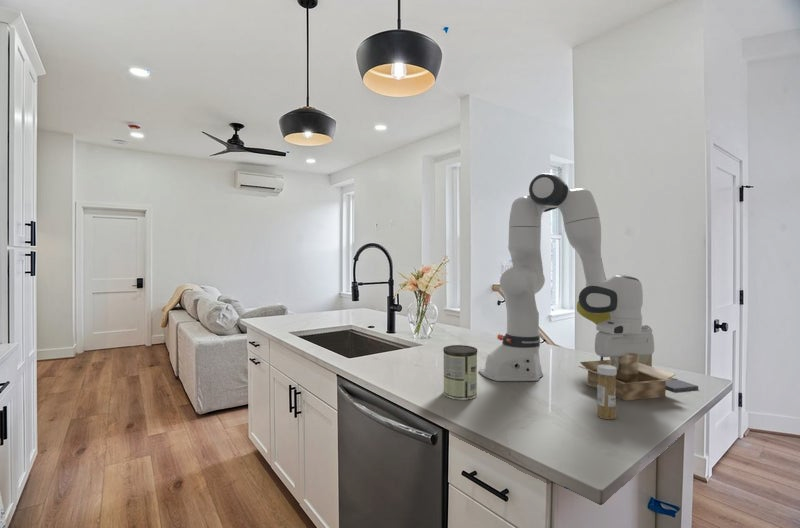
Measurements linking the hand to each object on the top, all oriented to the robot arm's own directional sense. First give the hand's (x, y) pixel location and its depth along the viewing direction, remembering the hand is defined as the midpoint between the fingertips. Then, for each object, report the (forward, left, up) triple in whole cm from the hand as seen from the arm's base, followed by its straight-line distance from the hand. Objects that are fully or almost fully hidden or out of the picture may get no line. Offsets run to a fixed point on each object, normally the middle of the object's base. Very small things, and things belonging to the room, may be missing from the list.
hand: (624, 369), depth 126 cm
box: (+24, +16, -7) cm, 30 cm away
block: (0, 0, -5) cm, 5 cm away
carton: (0, 0, -7) cm, 7 cm away
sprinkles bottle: (-22, -16, -7) cm, 28 cm away
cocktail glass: (+11, +22, -7) cm, 25 cm away
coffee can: (-53, +9, -7) cm, 54 cm away
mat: (+19, 0, -7) cm, 20 cm away
